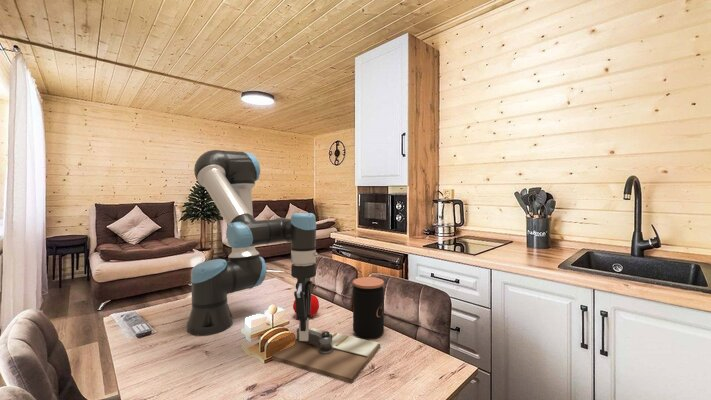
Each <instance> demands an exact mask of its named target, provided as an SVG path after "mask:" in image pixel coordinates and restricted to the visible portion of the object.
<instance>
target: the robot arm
mask: <svg viewBox="0 0 711 400" xmlns="http://www.w3.org/2000/svg"><path fill="white" fill-rule="evenodd" d="M260 165H261V164H260V161H259V160H258V158H257V157H256V155H254V154H253V153H251V152H245V151H237V150H236V151H235V150H221V149H210V150H207V151H206V152H203V154H201V155H200V156H199V157H198V159H196V161H195V163H194V169H193V171H194V176H195V180H196V181H197V182H198V184H199V186H201V187H203V188H205V190H206V191H207V193H208V195H209V196H210V198H211V200H212V201H213V203H214V205H215V207H216V208H217V209H218V211H219V212H220V214H221V216H222V217H223V219H224V221H225V222H226V224H227V227H226V230H225V231H226V232H225V234H226V236H225V237H226V239H227V243H228V245H229V246H230V248H231V253H229V255H228V258H227V259H228V261H226V259H224V258H223V259H222V258H216V259H209V260H205V261H202V262H200V263H198V264H196V265H195V266H193V268H192V269H191V273H190V275H191V276H190V283H191V287H190V288H191V310H190V314H189V316H188V321H187V322H186V331H187V333H188V334H190V335H194V336H209V335H214V334H218V333H220V332H223V331H225V330H227V329H229V328H231V326H233V322H234V319H233V314H232V312H231V309H230V306H229V304H228V294H232V293H236V292H240V291H245V290H251V289H253V288H256V287H259V286H261V285H262V284H263V283H264V282H265V279H266V275H267V268H268V267H267V264H266V261H265V259H264V258H263V257H262V256H260V252H259V251H258V250H257V249H256V247H257V246H261V245H269V244H270V245H271V244H276V243H283V242H286V243H290V245H291V246H290V250H291V252H290V262H291V268H290V269H291V270H290V271H291V274H290V275H291V277H292V278H294V279H296V280H297V282H296V284H295V289H296V291H293V295H294V301H295V302H296V313H295V314H296V319H295V320H296V321H298V328H299V341H308V340H309V329H310V324H309V323H310V319H311V318H312V317H313V316H312V315H309V313H310V312H311V295H312V288H313V284H314V283H313V281H312V280H311V279H312V278H314V277H316V275H317V264H316V261H317V256H318V255H319V254H318V252H317V222H316V215H315V214H314V213H312V212H297V213H292V214H291V216H290V218H285V217H275V218H272V219H261V220H256V218H255V217H254V213H253V212H254V211H253V208H254V207H253V199H252V198H253V196H252V195H253V194H252V189H253V188H254V187H255V186H256V181H258V180H259V178H260V175H261V167H260Z"/></svg>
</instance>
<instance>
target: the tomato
mask: <svg viewBox="0 0 711 400" xmlns="http://www.w3.org/2000/svg"><path fill="white" fill-rule="evenodd" d="M319 308H320V302H319V299H318V297H317V296H316V295H314V294H311V312H310V313H309V315H312V316H311V317H313V316H315V315H316V314H317V313H318V311H319ZM292 309H293V311H294V314H296V302H295V300H294V301H293V304H292Z"/></svg>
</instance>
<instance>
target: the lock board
mask: <svg viewBox="0 0 711 400" xmlns="http://www.w3.org/2000/svg"><path fill="white" fill-rule="evenodd" d="M309 329H310V330H313V331H316V332H319V333H322V332H324V331H325V330H323V329H319V328H314V327H309ZM328 332H329V334H332V349H331V350H328V351H322V350H320V349H319V347H318V346H315V345H313V344H310V343H307V342H304V341H299V339H297V337H296V338H295V339H296V340H295V339H294V340H295V344H294V345H293V346H291V347H289V348H287V349H284V350H282V351H279V350H278V351H279V352H278V351H277V352H275V353H273V354H272V355H271V360H272V361H274V362H275V361H276V362H278V363H281V364H285V365H289V366H291V367H296V368H299V369H303V370H306V371H309V372H312V373H315V374H319V375H321V376H326V377H329V378H333V379H335V380H339V381H342V382H346V383H349V384H352V383H353V382H354V381H355V380H356V378H358V376H359V375H360V373H362V371H363V370H364V368H365V367H366V366H367V365H368V363H369V362H370V361H371V360H372V359H373V357H374V356H375V355H376V353H378V351H379V350H380V349H381V344H380V343H379V342H377V341H373V340H369V339H364V338H360V337H355V336H351V335H345V334H341V333H336V332H333V331H328Z"/></svg>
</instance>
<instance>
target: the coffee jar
mask: <svg viewBox="0 0 711 400" xmlns="http://www.w3.org/2000/svg"><path fill="white" fill-rule="evenodd" d="M352 285H353V288H352V314H353V315H352V327H353V328H352V330H353V333H354V334H355V336H356V337H357V338H360V339H364V340H375V339H378V338H380V337H381V336H382V334H383V333H384V331H385V290H384V288H385V287H384V285H385V281H384V280H383V279H382V278H378V277H374V276H373V277H372V276H366V277H365V276H364V277H358V278H355V279H354V280H352Z"/></svg>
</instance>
